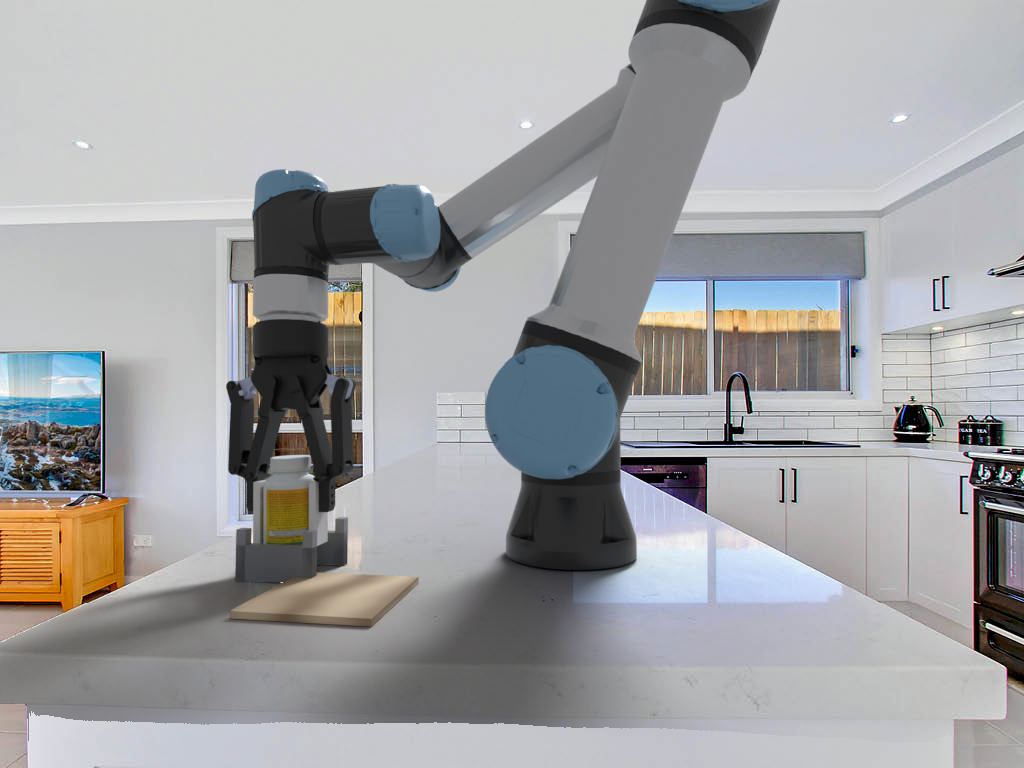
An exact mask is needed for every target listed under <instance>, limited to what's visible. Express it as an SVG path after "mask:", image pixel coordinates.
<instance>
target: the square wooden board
mask: <svg viewBox="0 0 1024 768" xmlns="http://www.w3.org/2000/svg"><path fill="white" fill-rule="evenodd" d="M419 578H420V577H419V576H410V575H409V576H406V575H385V574H384V575H383V574H363V573H362V574H361V573H360V574H359V573H340V572H339V573H338V572H318V571H317V576H315V577H313V578H294V577H292V578H290V579H288V580H287V581H285V582H283V583H278V584H277V585H276V586H274V587H272V588H270V589H268V590H266V591H264V592H263V593H260V594H258V595H257V596H255V597H253V598H251V599H249V600H247V601H245V602H244V603H242V604H239V605H238V606H236V607H234V608H232V609H231V610H229V619H233V620H234V619H235V620H249V621H250V620H251V621H267V622H283V623H286V622H287V623H288V622H289V623H301V624H302V623H303V624H321V625H336V626H337V625H339V626H352V627H353V626H354V627H355V626H357V627H369V628H370V627H373V626H374V625H375V624H376V623H378V621H380V619H382V617H384V616H385V615H386V614H387V613H388V612H389V611H390V610H392V608H393V607H394V606H396V605H397V604H398V603H399V602H400V601H401V600H402V599H403V598H404V597H405V596H407V594H409V593H410V591H411V590H413V589H414V588H415V587H416V586H417V585H418V584H419V582H420V581H419Z"/></svg>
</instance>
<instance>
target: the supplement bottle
mask: <svg viewBox="0 0 1024 768" xmlns="http://www.w3.org/2000/svg"><path fill="white" fill-rule="evenodd" d="M311 467H312V459H311V455H310V454H289V455H278V456H277V455H276V456H272V457H271V459H270V466H269V469H270V471H271V472H272V476H271V475H270V476H269V477H268V478H265V480H266V481H265V482H264V485H263V544H287V545H303V532H304V531H306V530H309V482H312V481H314V480H313V478H314V477H315V475H313V474H310V473H309V470H311Z"/></svg>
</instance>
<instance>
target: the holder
mask: <svg viewBox="0 0 1024 768" xmlns="http://www.w3.org/2000/svg"><path fill="white" fill-rule="evenodd" d="M334 521H335V523H334V530H328V541H327V542H325V543H323V544H321V545H319V546H317V530H306V531H304V532H303V545H287V544H260V543H253V542H252V532H253V527H240V528H238V529H236V530H235V532H236V533H235V574H234V576H235V580H234V581H235V582H248V583H249V582H250V583H251V582H252V583H267V582H285V581H287V580H288V579H290V578H292V577H294V578H313V577H315V576H317V572H318V571H317V570H318V569H317V568H318V566H317V565H320V566H339V567H340V566H341V567H344V566H346V565H348V553H349V551H348V548H349V547H348V543H349V541H348V537H349V517H347V516H343V517H342V516H340V517H336V518H335V520H334Z"/></svg>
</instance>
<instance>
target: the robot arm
mask: <svg viewBox="0 0 1024 768" xmlns="http://www.w3.org/2000/svg"><path fill="white" fill-rule="evenodd" d="M780 1H781V0H646V1H645V3H644V6H643V8H642V11H641V13H640V16H639V19H638V22H637V23H636V27H635V30H634V33H633V36H632V38H631V41H630V43H629V46H628V59H629V62H630V63H628V64H627V65H626V66H624V67H622V68H621V69H620V70H619V72H618V77H617V81H616V83H615V84H614V85H613V86H611V87H610V88H608V89H607V90H605V92H603V93H602V94H600V95H598V96H597V97H596V98H594V99H592V100H591V101H590V102H588V103H587V104H586V105H584V106H582V107H580V109H578V110H577V111H575V112H574V113H572V114H571V115H569V116H568V117H566V118H565V119H563V120H562V121H561V122H559V123H557V124H556V125H555V126H553V127H551V128H550V129H548V131H546V132H544V133H543V134H542V135H540V136H538V137H537V138H536V139H534V140H533V141H532V142H530V143H529V144H527V145H525V146H524V147H523V148H521V149H520V150H518V151H517V152H516V153H514V154H512V155H511V156H509V157H508V158H507V159H505V160H504V161H503V162H500V163H499V164H498V165H496V166H495V167H493V168H492V169H491V170H489V171H488V172H487V173H485V174H484V175H482V176H481V177H479V178H478V179H476V180H475V181H473V182H472V183H470V184H469V185H467V186H466V187H464V188H463V189H462V190H459V192H457V193H455V194H454V195H453V196H451V197H450V198H448V199H446V201H445V202H443V203H441V204H440V205H437V204H436V203H435V199H434V195H433V194H432V192H431V190H429V189H428V188H427V187H426V186H424V185H421V184H397V183H388V184H385V185H383V186H373V187H362V188H354V189H346V190H345V189H344V190H335V191H329V189H328V185H327V183H326V182H325V180H323V179H322V178H321V177H320V176H318V175H315V174H313V173H311V172H307V171H304V170H289V169H286V168H285V169H283V168H282V169H273V170H269V171H267V172H264V173H262V174H261V175H260V176H259V177H258V179H257V180H256V182H255V187H254V200H253V209H252V213H251V219H252V222H253V224H252V226H253V255H254V256H253V257H254V259H253V262H254V263H253V264H254V269H253V279H252V281H253V282H252V316H253V317H255V318H256V319H257V320H258V321H256V322H255V324H253V325H252V354H253V358H254V359H253V360H254V366H253V369H252V371H251V373H250V376H249V377H246V378H244V379H241V380H229V381H227V383H226V384H225V385H226V386H225V387H226V388H225V389H226V392H227V395H228V399H229V402H230V409H229V410H230V411H229V412H230V413H229V416H230V417H229V437H228V439H229V441H228V464H227V469H228V474H230V475H232V476H234V475H236V476H239V477H241V478H243V479H244V480H245V483H246V506H245V507H246V509H247V512H252V514H253V515H252V543H260V544H263V485H264V482H265V481H266V479H268V478H269V477H271V475H272V474H271V473H269V469H270V459H271V457H273V454H274V451H275V447H276V443H277V439H278V435H279V431H280V428H281V427H280V426H281V424H282V420H283V419H284V418H285V416H286V414H287V411H289V410H296V414H297V417H298V418H299V419H300V420H301V424H302V427H303V432H304V436H305V440H306V442H307V447H308V451H309V455H310V456H311V464H312V466H313V470H314V474H315V476H314V478H313V480H314V481H312V482H309V530H317V546H319V545H321V544H323V543H325V542H327V541H328V531H329V530H328V529H329V528H328V527H329V524H328V523H329V521H328V518H329V517H328V516H329V515H328V513H329V512H333V511H334V510H335V508H336V480H337V479H338V478H339V477H340V476H342V475H346V474H349V473H351V472H352V471H353V470H354V448H353V447H354V446H353V445H354V444H353V418H352V400H353V397H354V394H355V391H356V387H357V382H356V381H355V380H354V379H352V378H351V379H350V378H342V377H340V376H335V375H333V374H332V371H331V369H330V367H329V364H328V358H329V327H327V325H326V324H324V323H323V322H325V321H326V320H327V319H328V318H329V270H330V266H331V265H333V266H342V265H357V264H359V265H360V264H374V265H376V266H377V267H379V268H381V269H383V270H384V271H386V272H388V273H390V274H392V275H393V276H397V277H398V278H399V279H401V280H403V282H404V283H406V285H409V286H410V287H413V288H415V289H419V290H422V291H425V292H430V293H432V292H435V293H436V292H440V291H444V290H445V289H448V288H449V287H450V286H452V284H453V283H454V282H455V281H456V280H457V278H458V276H459V274H460V271H461V268H462V266H464V265H466V263H468V262H469V261H471V260H473V259H474V258H476V257H477V256H479V255H480V254H482V253H483V252H485V251H486V250H488V249H489V248H491V247H492V246H494V245H496V243H498V242H500V241H501V240H503V239H504V238H506V237H508V236H509V235H510V234H512V233H514V232H515V231H517V230H518V229H520V228H521V227H523V226H524V225H526V224H528V223H529V222H531V221H532V220H534V219H535V218H536V217H538V216H539V215H541V214H543V213H544V212H546V211H547V210H548V209H550V208H552V207H553V206H555V205H556V204H558V203H560V201H562V200H564V199H566V198H567V197H568V196H571V194H573V193H574V192H575V191H577V190H579V189H581V188H582V187H583V186H585V185H586V184H589V182H591V181H592V180H594V179H595V178H596V179H595V181H594V184H593V187H592V190H591V192H590V195H589V199H588V201H587V204H586V205H585V209H584V211H583V214H582V216H581V219H580V222H579V225H578V228H577V229H576V230H577V231H576V233H575V235H574V238H573V240H572V243H571V246H570V249H569V251H568V254H567V256H566V258H565V262H564V264H563V267H562V269H561V272H560V275H559V278H558V279H557V280H558V281H557V282H556V286H555V288H554V291H553V293H552V296H551V299H550V302H549V304H548V306H547V307H545V308H544V309H543V310H541V311H539V312H536V313H534V314H532V315H530V316H528V317H527V319H526V320H525V323H524V325H523V328H522V330H521V332H520V336H519V339H518V341H517V343H516V346H515V349H514V351H513V354H512V357H510V358H509V359H508V360H507V361H506V362H505V363H504V364H503V365H502V367H500V368H499V370H498V371H497V372H496V374H495V376H494V377H493V379H492V380H491V382H490V384H489V388H488V390H487V394H486V398H485V405H484V419H485V425H486V429H487V433H488V436H489V437H490V438H489V439H490V440H491V442H492V444H493V446H494V447H495V449H496V451H497V452H498V453H499V455H500V456H501V457H502V458H503V459H504V460H505V461H506V462H507V463H508V464H509V465H510V466H512V467H513V468H515V469H516V470H517V471H519V472H520V490H519V493H518V496H517V498H516V499H517V500H516V503H515V506H514V509H513V513H512V514H511V518H510V521H509V524H508V527H507V530H506V536H505V554H506V556H507V557H508V558H509V559H510V560H512V561H514V562H517V563H520V564H523V565H527V566H531V567H537V568H543V569H552V570H568V571H569V570H570V571H572V570H573V571H584V570H585V571H591V570H602V569H603V570H604V569H612V568H617V567H621V566H624V565H628V564H630V563H633V562H634V561H635V560H636V559H637V557H638V556H637V555H638V552H637V550H638V549H637V547H638V546H637V545H638V544H637V543H638V542H637V536H636V535H637V534H636V532H635V530H634V526H633V523H632V520H631V516H630V513H629V511H628V507H627V504H626V501H625V498H624V495H623V493H622V487H621V486H622V484H621V483H622V481H621V477H622V476H621V475H622V474H621V467H622V465H621V463H622V461H621V456H622V455H621V417H622V414H623V412H624V409H625V407H626V404H627V401H628V399H629V397H630V393H631V391H632V388H633V385H634V383H635V380H636V379H637V378H636V377H637V375H638V373H639V369H640V367H641V364H642V362H643V359H642V357H641V355H640V352H639V350H638V348H637V346H636V342H635V335H636V333H637V329H638V327H639V323H640V322H641V319H642V316H643V314H644V310H645V308H646V306H647V303H648V301H649V298H650V295H651V292H652V290H653V288H654V284H655V282H656V279H657V277H658V274H659V272H660V269H661V266H662V265H663V260H664V258H665V255H666V253H667V250H668V247H669V246H670V243H671V240H672V238H673V235H674V232H675V230H676V228H677V224H678V221H679V219H680V216H681V215H682V214H681V213H682V211H683V209H684V206H685V203H686V201H687V199H688V196H689V192H690V190H691V188H692V185H693V183H694V181H695V180H694V179H695V177H696V174H697V172H698V170H699V167H700V164H701V162H702V158H703V156H704V155H705V150H706V149H707V145H708V144H709V140H710V138H711V135H712V133H713V130H714V128H715V125H716V122H717V120H718V117H719V115H720V112H721V110H722V106H723V104H724V103H725V102H726V101H729V100H731V99H734V98H735V97H737V96H739V95H741V94H742V93H743V92H744V91H745V90H746V88H747V87H748V84H749V82H750V80H751V77H752V74H753V73H754V70H755V67H756V66H757V65H758V62H759V60H760V57H761V56H762V53H763V50H764V49H763V48H764V46H765V44H766V41H767V38H768V35H769V33H770V29H771V27H772V24H773V21H774V18H775V16H776V12H777V10H778V6H779V4H780V3H781V2H780ZM327 388H328V394H329V396H331V397H330V426H331V427H330V429H331V430H330V431H331V433H330V434H331V444H330V440H329V436H328V431H327V428H326V425H325V421H324V418H323V417H324V416H323V415H324V409H323V406H322V401H321V396H322V395H323V393H324V392H325V390H327ZM256 391H257V392H258V393H259V395H260V397H261V399H260V402H259V406H258V409H257V416H258V421H257V423H256V428H255V432H254V426H255V425H254V424H255V423H254V422H255V420H254V419H255V401H254V397H255V396H256V395H257V392H256Z"/></svg>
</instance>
